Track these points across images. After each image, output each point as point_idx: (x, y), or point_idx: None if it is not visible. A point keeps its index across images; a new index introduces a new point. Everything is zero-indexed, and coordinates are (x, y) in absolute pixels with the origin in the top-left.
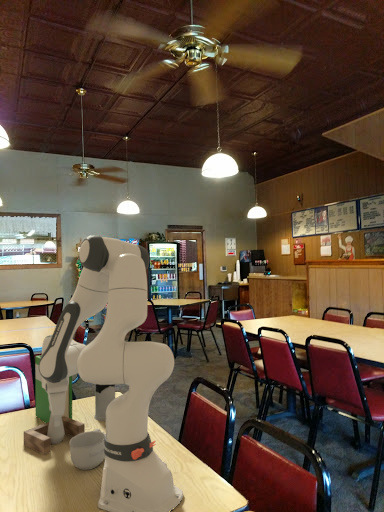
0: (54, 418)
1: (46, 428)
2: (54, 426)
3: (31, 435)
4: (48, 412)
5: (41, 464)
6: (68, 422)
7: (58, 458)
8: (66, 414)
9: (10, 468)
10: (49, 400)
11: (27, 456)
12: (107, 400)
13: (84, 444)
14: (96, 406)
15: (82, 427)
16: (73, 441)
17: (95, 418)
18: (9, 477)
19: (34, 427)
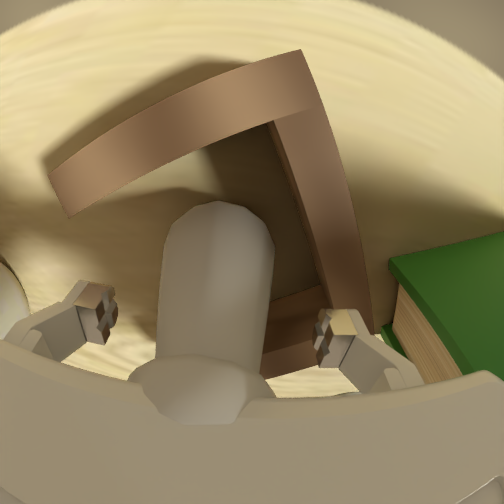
0: (25, 321)
1: (307, 223)
2: (161, 279)
3: (179, 92)
4: (475, 281)
5: (26, 146)
6: (269, 350)
7: (45, 215)
8: (408, 345)
9: (58, 24)
10: (325, 460)
11: (118, 78)
12: None
13: (13, 323)
14: None
15: None
16: None
17: (342, 395)
18: (9, 42)
19: (334, 141)
